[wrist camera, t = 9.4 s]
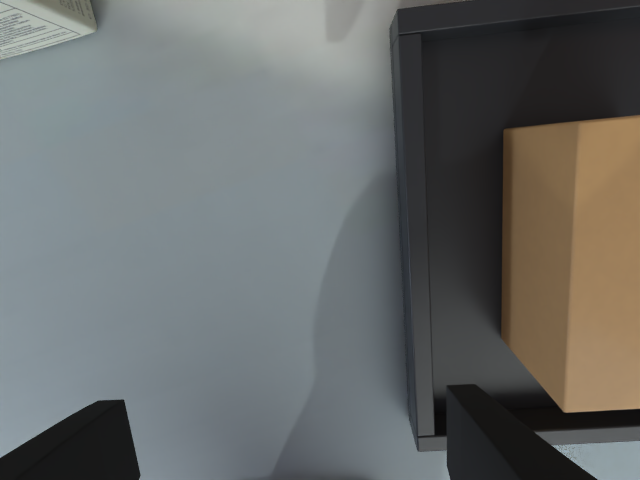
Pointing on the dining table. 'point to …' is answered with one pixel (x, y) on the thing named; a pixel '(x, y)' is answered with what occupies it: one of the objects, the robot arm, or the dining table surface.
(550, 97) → the tray
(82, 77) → the dining table surface
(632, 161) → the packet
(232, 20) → the dining table surface
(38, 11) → the cosmetic box
